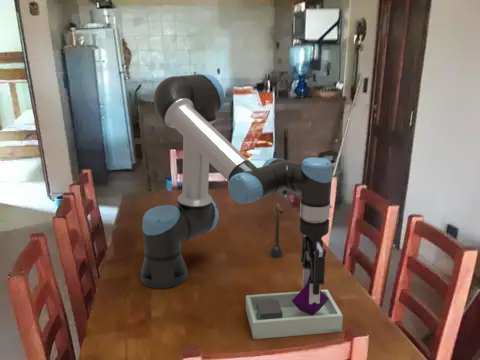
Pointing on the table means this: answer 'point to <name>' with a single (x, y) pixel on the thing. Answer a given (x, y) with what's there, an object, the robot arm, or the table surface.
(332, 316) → the tray
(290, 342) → the table surface
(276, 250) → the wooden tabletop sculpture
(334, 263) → the table surface
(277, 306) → the block
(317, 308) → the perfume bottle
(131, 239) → the table surface
